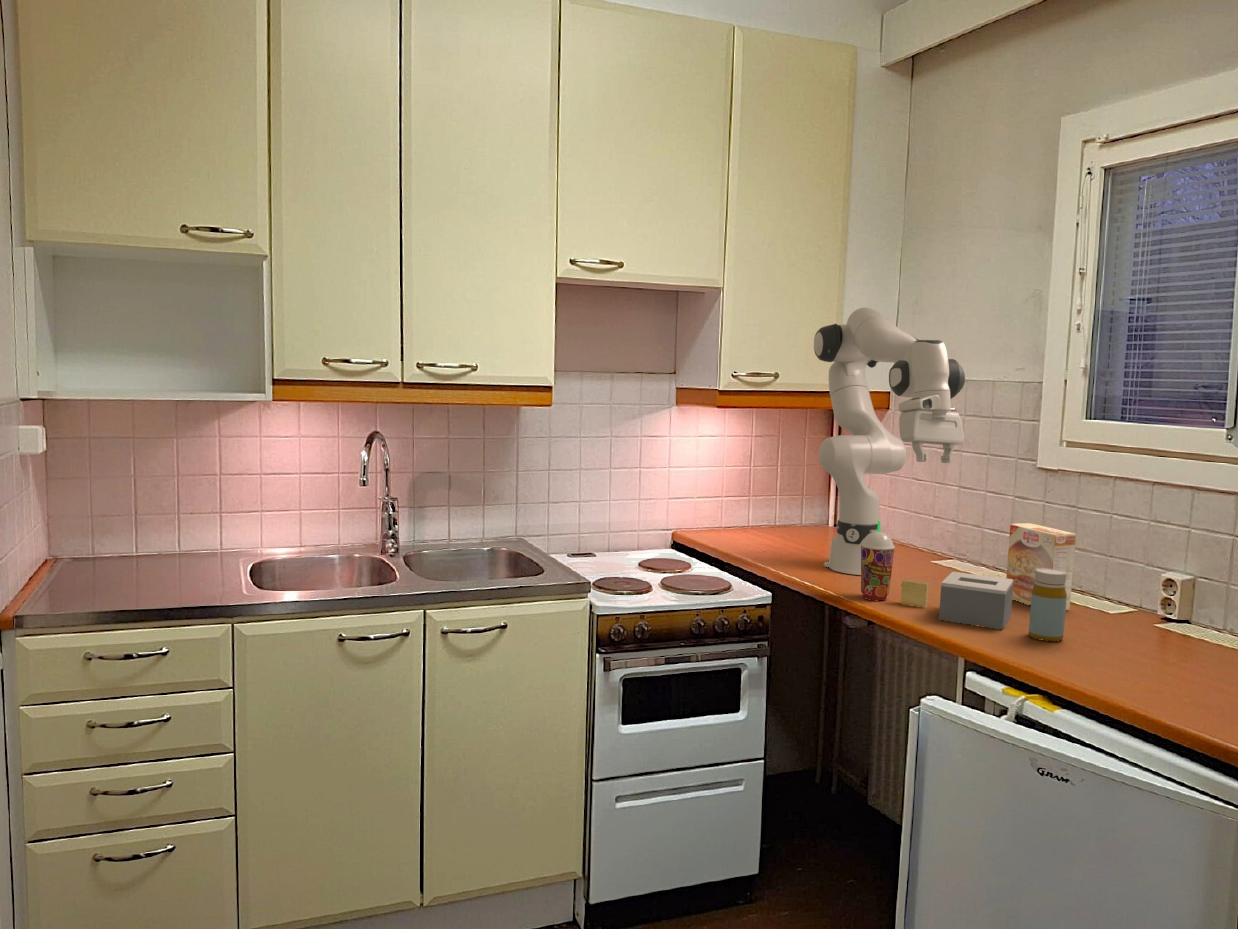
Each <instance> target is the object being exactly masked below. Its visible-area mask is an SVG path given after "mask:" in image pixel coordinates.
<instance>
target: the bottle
mask: <svg viewBox="0 0 1238 929" xmlns="http://www.w3.org/2000/svg"><path fill="white" fill-rule="evenodd" d="M1065 582H1066V572H1064V571H1061V570H1057V569H1048V568H1039V569H1036V571H1035V585H1034V587H1033V589H1032V595H1031V606H1030V607H1029V608H1030V610H1029V621H1028V622H1029V623H1028V635H1029V636H1030V637H1031V636H1032V637H1034V638H1036V639H1035V640H1037V639H1043V640H1048V641H1057V642H1059V641H1058V640H1060V641H1061V640H1063V638H1064V633H1065V621H1066V620H1065V619H1066V599H1067V593H1066V590H1065ZM1032 637H1031V638H1032ZM1034 638H1033V639H1034Z"/></svg>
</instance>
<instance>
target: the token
mask: <svg viewBox="0 0 1238 929" xmlns="http://www.w3.org/2000/svg"><path fill="white" fill-rule="evenodd" d="M929 590H930V582H928V581H920V580H913V579H906V578H904V579H903V580H902V581H901V591H900V592H901V595H900V605H901V604H904V605H903V606H906V605H913V606H919V607H918V608H920V607H925V608H924V609H927V607H928V606H927V605H929ZM913 606H912V607H913Z"/></svg>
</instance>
